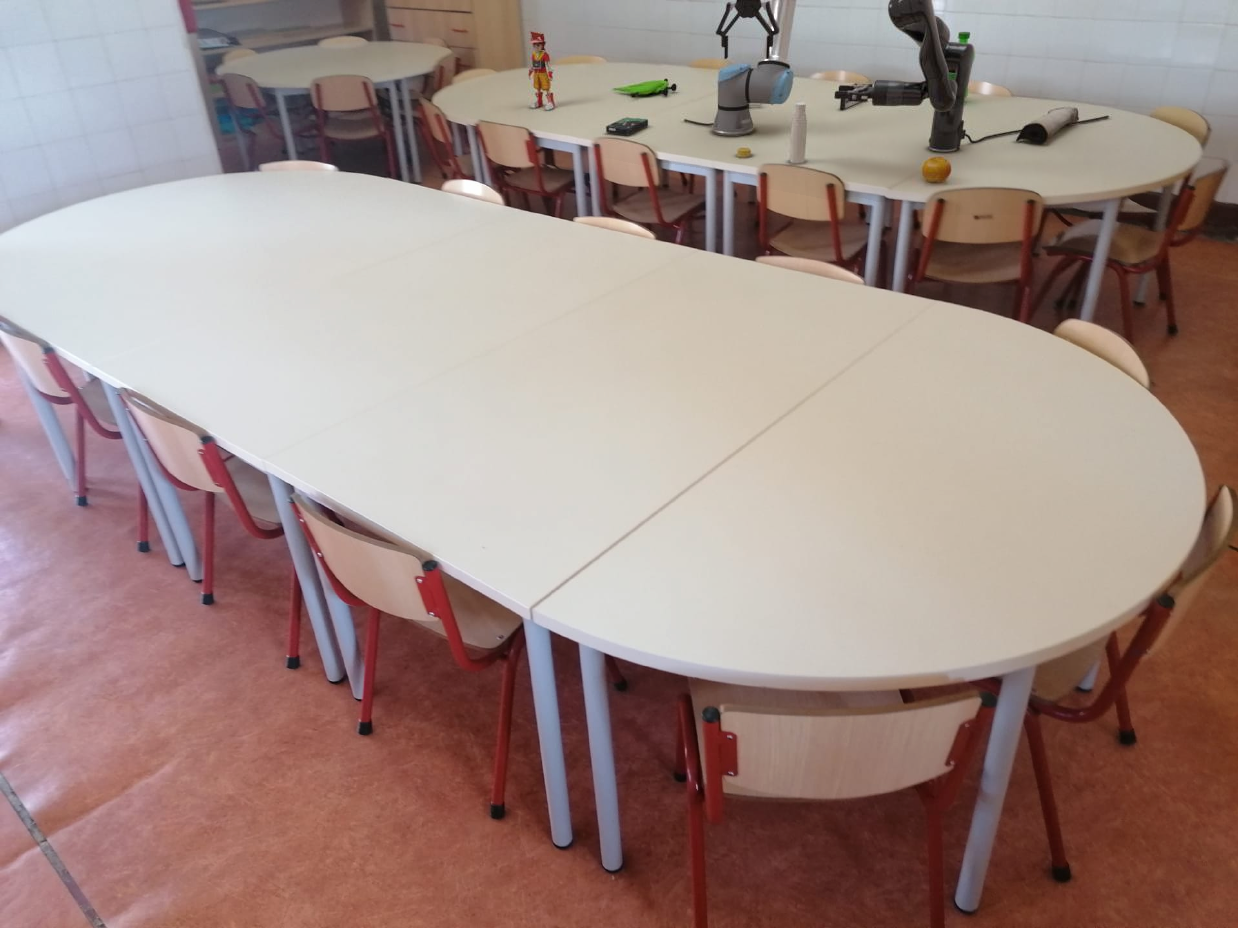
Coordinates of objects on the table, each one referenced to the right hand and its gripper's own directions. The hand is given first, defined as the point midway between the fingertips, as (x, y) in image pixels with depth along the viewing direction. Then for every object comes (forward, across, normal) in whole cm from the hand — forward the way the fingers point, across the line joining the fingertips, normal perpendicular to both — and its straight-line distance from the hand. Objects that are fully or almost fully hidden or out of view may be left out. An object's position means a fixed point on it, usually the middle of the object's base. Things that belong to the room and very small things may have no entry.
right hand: (836, 92), depth 286 cm
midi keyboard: (+3, -78, +21) cm, 81 cm away
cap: (+30, -4, +21) cm, 37 cm away
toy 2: (+96, -91, +22) cm, 135 cm away
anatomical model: (+45, -75, +22) cm, 90 cm away
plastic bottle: (-36, -88, +21) cm, 97 cm away
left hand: (+30, -4, -9) cm, 32 cm away
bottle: (+11, 0, +22) cm, 25 cm away
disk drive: (+82, -30, +22) cm, 90 cm away
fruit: (-34, +13, +23) cm, 43 cm away
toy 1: (+130, -60, +22) cm, 145 cm away
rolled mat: (-68, -46, +22) cm, 85 cm away
